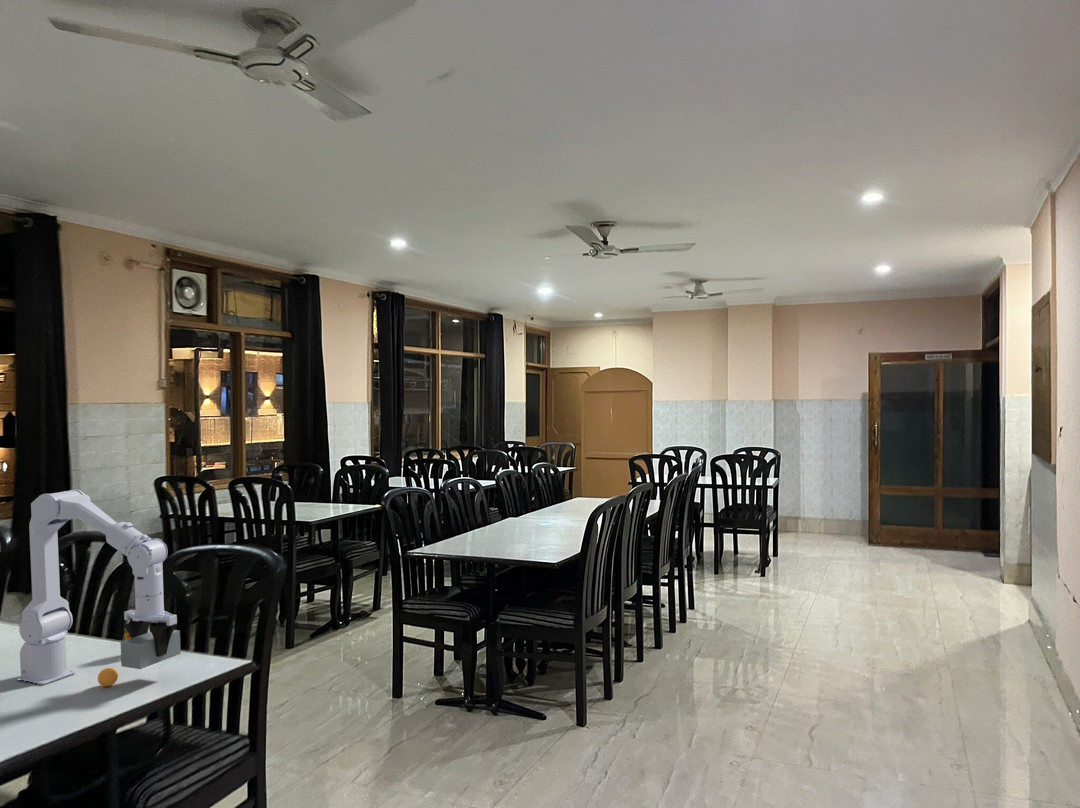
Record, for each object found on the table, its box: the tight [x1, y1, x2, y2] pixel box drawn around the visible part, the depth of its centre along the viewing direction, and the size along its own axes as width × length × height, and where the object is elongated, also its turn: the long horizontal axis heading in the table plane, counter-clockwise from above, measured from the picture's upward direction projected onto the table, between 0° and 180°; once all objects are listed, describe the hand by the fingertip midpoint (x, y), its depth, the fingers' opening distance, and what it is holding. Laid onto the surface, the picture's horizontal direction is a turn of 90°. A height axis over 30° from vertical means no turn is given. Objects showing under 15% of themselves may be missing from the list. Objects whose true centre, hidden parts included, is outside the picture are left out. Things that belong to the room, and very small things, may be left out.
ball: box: [97, 667, 119, 688], centre depth 173 cm, size 4×4×4 cm
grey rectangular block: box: [120, 629, 182, 670], centre depth 175 cm, size 6×11×5 cm, turn 156°
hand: (151, 653), depth 175 cm, fingers closed on grey rectangular block, 6 cm apart
